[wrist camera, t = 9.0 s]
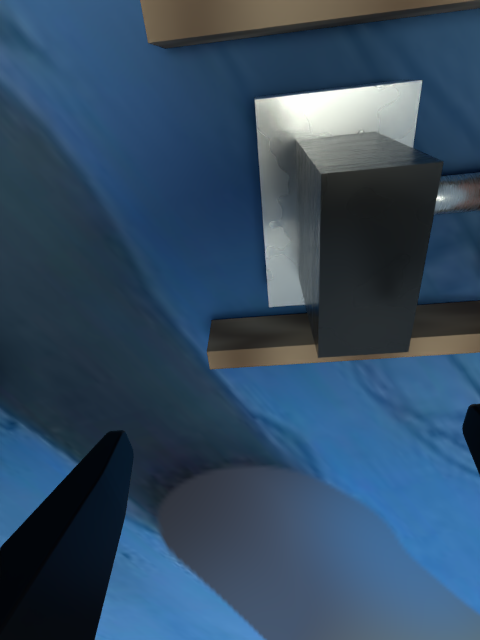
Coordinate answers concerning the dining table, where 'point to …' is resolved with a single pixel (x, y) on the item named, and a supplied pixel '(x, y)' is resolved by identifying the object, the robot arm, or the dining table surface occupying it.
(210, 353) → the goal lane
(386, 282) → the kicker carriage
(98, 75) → the dining table surface
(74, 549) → the robot arm
